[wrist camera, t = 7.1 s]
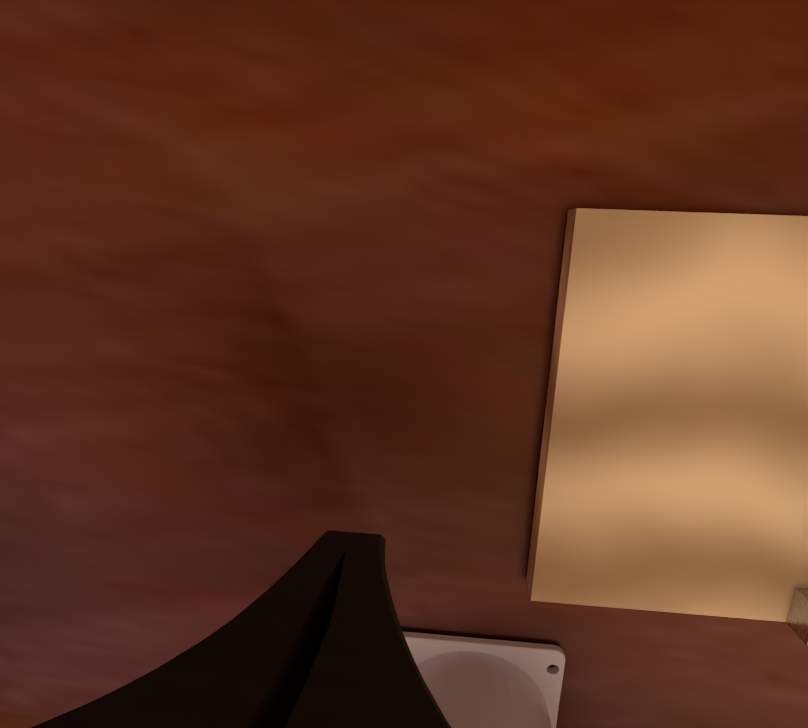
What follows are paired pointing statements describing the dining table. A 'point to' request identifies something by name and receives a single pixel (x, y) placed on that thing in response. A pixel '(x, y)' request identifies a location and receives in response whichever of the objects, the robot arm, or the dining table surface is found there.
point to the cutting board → (676, 416)
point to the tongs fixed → (799, 613)
